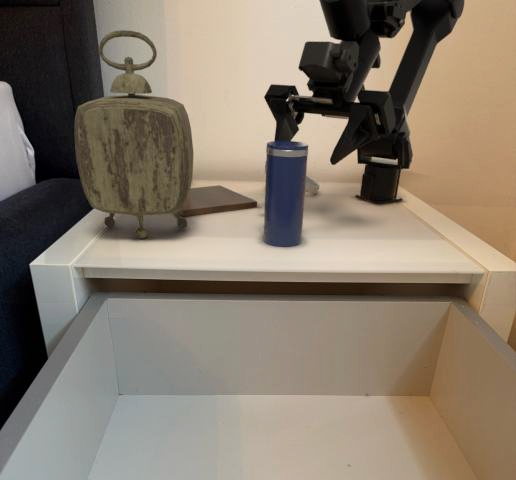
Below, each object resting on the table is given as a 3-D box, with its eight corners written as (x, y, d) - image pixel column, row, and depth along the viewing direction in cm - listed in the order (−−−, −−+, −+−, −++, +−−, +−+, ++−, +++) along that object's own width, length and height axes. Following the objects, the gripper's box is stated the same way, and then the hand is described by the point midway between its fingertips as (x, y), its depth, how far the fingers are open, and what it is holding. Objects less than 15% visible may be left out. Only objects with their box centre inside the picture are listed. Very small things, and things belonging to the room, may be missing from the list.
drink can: (287, 232, 75) (292, 139, 68) (309, 243, 71) (317, 145, 64) (256, 238, 72) (258, 141, 66) (277, 249, 68) (281, 148, 62)
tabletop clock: (196, 226, 76) (189, 34, 64) (191, 245, 69) (182, 30, 56) (100, 224, 76) (74, 30, 63) (84, 243, 68) (51, 26, 55)
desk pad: (219, 190, 98) (219, 185, 97) (257, 207, 87) (257, 201, 87) (151, 197, 91) (151, 192, 90) (183, 216, 81) (183, 210, 80)
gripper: (274, 18, 69) (224, 109, 67) (402, 16, 60) (349, 122, 57) (300, 82, 79) (257, 164, 76) (414, 88, 69) (369, 182, 67)
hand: (302, 158), depth 69 cm, fingers open, 9 cm apart
